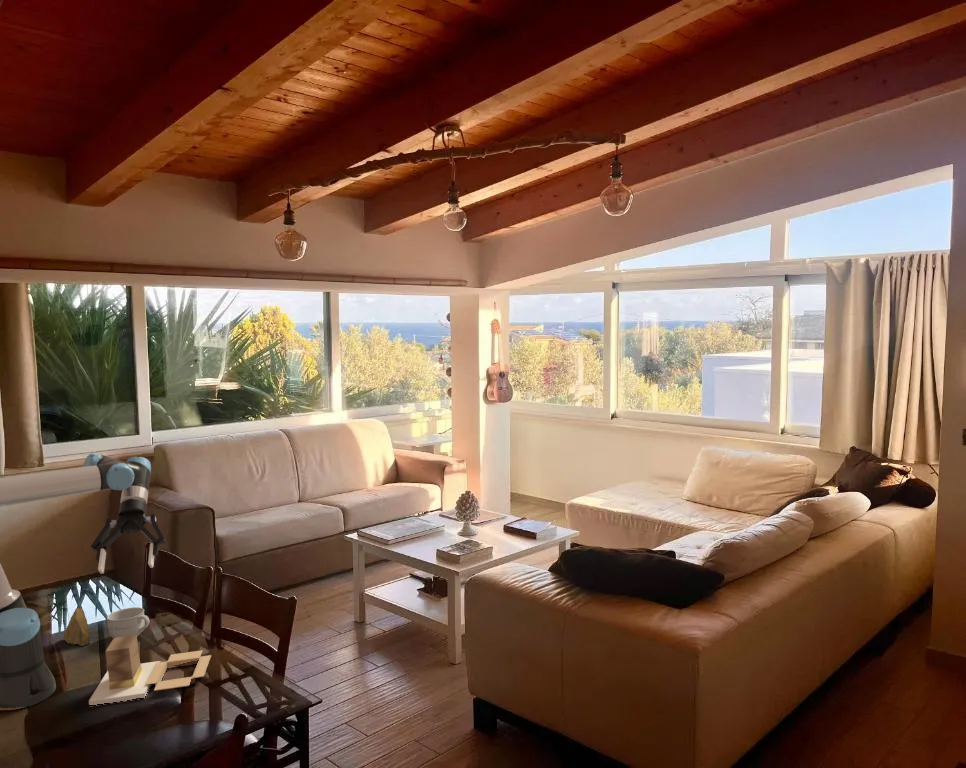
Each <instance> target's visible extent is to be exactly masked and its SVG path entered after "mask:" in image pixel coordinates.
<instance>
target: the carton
mask: <svg viewBox="0 0 966 768" xmlns="http://www.w3.org/2000/svg"><path fill="white" fill-rule="evenodd" d="M202 654H203V650H195V651H194V650H193V651H189V652H179V653H174V654H172V653H171V654H170V656H169V657H168V660H167V661H166V660H165V661H160V662H158V663H156V665H155V667H154V669H153V671H152V673H151V675H150V677H149V679H148V681H147V683H146V685H149V684H152V685H155V687H154V689H153V691H162V690H169V689H175V688H176V689H177V688H183V687H189V686H190V682H191V679H194V678H197V679H198V678H203V677H205V674H206V672H207V668H208V665H209V663H210V660H211V657H212V654H209V655H202ZM197 660H199V661H198V663H197V665H195V666H196V667H195V669H194V671H193V674H192V675H191V676H186V677H180V678H173V679H165V680H163V681H161V680H162V678H163V676H164V673H165V671H166V669H167V667H168V666H173V665H179V664H183V663H187V662H191V661H197ZM164 677H165V676H164ZM163 679H164V678H163Z"/></svg>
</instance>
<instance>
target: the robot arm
mask: <svg viewBox="0 0 966 768" xmlns="http://www.w3.org/2000/svg"><path fill="white" fill-rule="evenodd" d="M151 471H152V465H151V462H150V460H149V459H148V458H145V457H142V456H139V457H137V456H132V457H129V458H127V460H126V461H125V460H124V461H123V460H122V459H121V460H120V459H118V458H115V457H111V456H107V455H103V454H99V453H96V452H93V453H92V452H91V453H90V454H89V453H88V455H87V456H86V458H85V459H84V462H83V464H82V467H80V466H79V467H74V468H68V469H67V468H66V469H60V470H59V469H58V470H51V471H45V472H39V473H31V474H24V475H17V476H9V477H3V478H0V508H3V507H8V506H13V505H21V504H27V503H33V502H39V501H45V500H51V499H58V498H63V497H69V496H77V495H81V494H82V495H83V494H87V493H95V492H101V491H107V490H114V491H121V496H120V504H119V510H118V517H117V518H116V519H111V518H106V520H105V521H106V522H105V525H104V526H103V528H102V529H101V531H100V532H99V533H98V535H97V536H96V537H95V539H94V541H93V542H92V543H91V545H90V548H91V549H92V551H93V552H96V556H95V560H96V561H97V563H98V567H97V571H98V573H100V574H104V573H105V568H106V567H105V566H106V558H107V552H106V550H107V549H108V548H109V547H110V546H112V544H113V543H114V542H115V541H117V539H119V537H121V536H123V534H130V533H134V534H135V533H137V532H139V531H140V532H141V533H142V534H143V535H144V536H145V537H146V538H147V539H148V540H149V542H150V544H149V551H148V561H147V564H148V566H149V568H150V569H151V568H152V569H153V568H154V566H155V565H154V563H155V556H158V555H159V547H160V545H162V544H163V545H164V544H166V542H167V541H166V538H165V536H164V535H163V533H162V531H161V529H160V527H159V525H158V524H157V523H158V522H157V521H158V519H157V517H156V515H155V514H154V513H151V514H150V516H147V510H148V509H147V508H148V505H147V504H148V498H149V489H150V481H151V476H152V472H151ZM147 522H148V523H149V524H151V525H152V527H153V529H154V531H155V533H156V535H157V537H158V538H156V537H155V535H153V534H152V533H151V532H150V531H149V530H148V529H147V528H146V526H145V525H146V524H147ZM116 525H117V526H116ZM115 526H116V527H115ZM113 528H114V530H112V529H113ZM111 531H112V532H111ZM110 532H111V533H110ZM42 639H43V638H42V631H41V621H40V618H39V615H38V612H36V611H35V610H34V609H32V608H28V607H27V605H26V604H25V601H24V599H23V596H22V594H21V592H20V591H19V590H16V589H12V587H11V584H10V582H9V579H8V577H7V575H6V573H5V570H4V568H3V566H2V564H1V563H0V707H1V708H9V707H10V708H16V707H17V708H18V707H26V708H28V707H27V706H29V707H33V706H34V705H37V704H38V703H41V702H42V701H45V700H46V699H48V698H49V697H50V696H52V695H53V694H54V692H55V691H56V689H57V685H56V680H55V679H56V678H55V677H54V675H53V673H52V672H51V670H50V669H49V667H48V664H47V663H46V660H45V652H44V647H43V640H42Z"/></svg>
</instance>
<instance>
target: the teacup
mask: <svg viewBox="0 0 966 768" xmlns="http://www.w3.org/2000/svg"><path fill="white" fill-rule="evenodd" d="M106 620H107V628H108V632H109V633H108V634H109V635H110V637H111V638H113V639H114V638H118V637H125V636H133V635H137V637H139V636H140V635H141V633H143V631H144V630H145V629H146V628H148V627H149V625H150V623H151V622H150V618H149V616H148V615H145V609H144V608H142V607H127V608H122V609H119V610H115V611H112V612H111V613H110V614H108V615H107V616H106Z"/></svg>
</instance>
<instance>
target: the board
mask: <svg viewBox="0 0 966 768" xmlns="http://www.w3.org/2000/svg"><path fill="white" fill-rule="evenodd" d="M158 662H161V660H157V661H150V662H143V663H140V664H141V666H142V672H141V674H140V676H139V678H138V680H137V682H136V684H135V686H131V687H124V688H117V689H110V690H109V674H108V670H107V671H106V673H105V674H104V676H103V677H102V678H101V680H100V681H99V684H98V686H97V687H96V689H95V690H94V692H93V694H92V695H91V696H90V698H89V700H88V705H96V706H98V705H97V704H103V705H105V704H104V703H110V704H114V703H113V702H117V703H121V702H120V701H123V702H128V701H127V700H130V701H133V700H132V699H136V698H144V699H146V698H145V696H146V697H147V695H148V693H149V691H150V689H151V687H152V685H151V684H149V685H146V683H147V681H148V679H149V677H150V675H151V673H152V671H153V669H154V667H155V665H156V663H158ZM150 686H151V687H150ZM149 688H150V689H149ZM148 690H149V691H148ZM147 692H148V693H147ZM146 694H147V695H146Z"/></svg>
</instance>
